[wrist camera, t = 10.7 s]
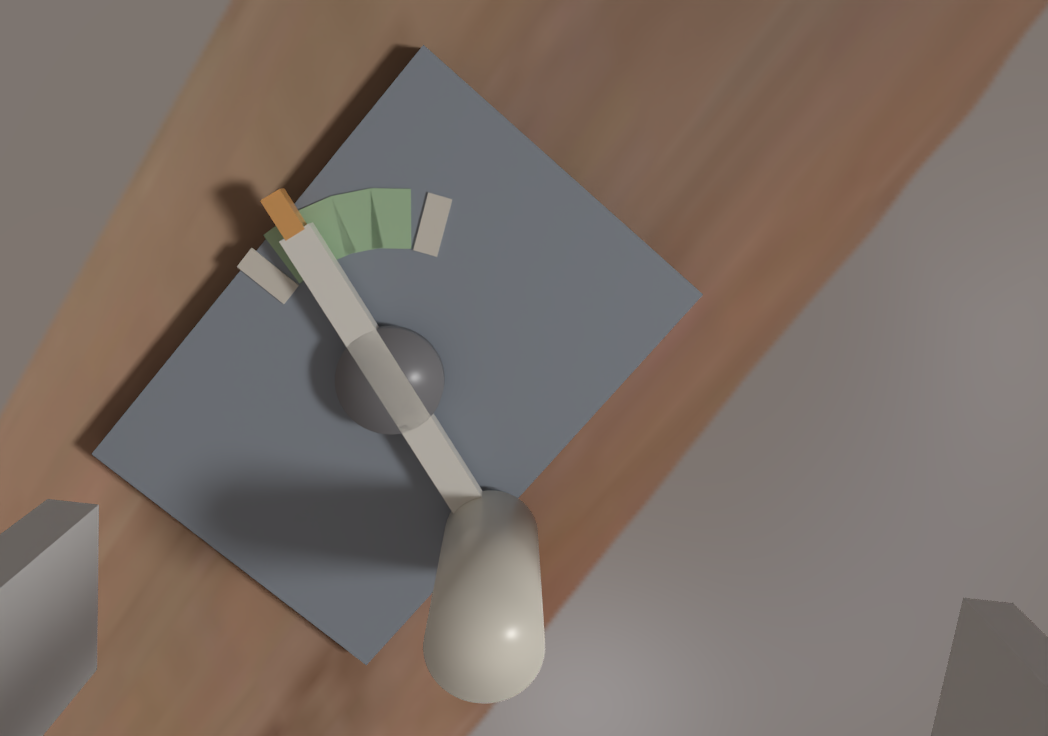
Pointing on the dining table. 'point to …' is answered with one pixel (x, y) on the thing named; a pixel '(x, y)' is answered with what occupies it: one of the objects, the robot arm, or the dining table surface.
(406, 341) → the needle
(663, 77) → the dining table surface
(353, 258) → the dial plate
